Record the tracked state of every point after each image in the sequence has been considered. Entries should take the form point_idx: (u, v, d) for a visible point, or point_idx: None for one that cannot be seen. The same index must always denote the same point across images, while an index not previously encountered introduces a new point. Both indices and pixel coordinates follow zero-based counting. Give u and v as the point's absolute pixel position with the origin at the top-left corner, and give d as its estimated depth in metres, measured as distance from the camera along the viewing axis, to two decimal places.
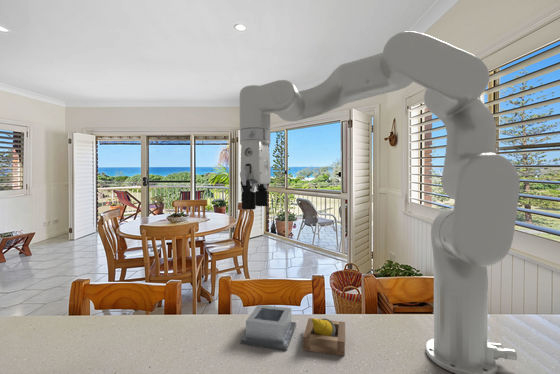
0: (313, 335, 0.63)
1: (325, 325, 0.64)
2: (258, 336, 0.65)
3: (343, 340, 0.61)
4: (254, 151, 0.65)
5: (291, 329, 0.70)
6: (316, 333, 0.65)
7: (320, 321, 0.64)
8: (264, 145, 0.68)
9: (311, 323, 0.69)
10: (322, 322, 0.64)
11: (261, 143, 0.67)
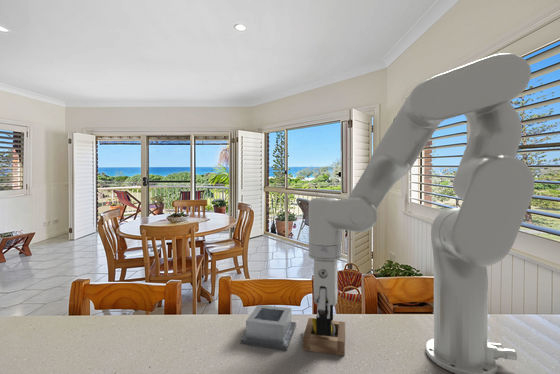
0: (313, 335, 0.63)
1: None
2: (258, 336, 0.65)
3: (343, 340, 0.61)
4: (329, 273, 0.61)
5: (291, 329, 0.70)
6: (316, 333, 0.65)
7: None
8: (336, 259, 0.65)
9: (311, 323, 0.69)
10: None
11: (335, 261, 0.63)
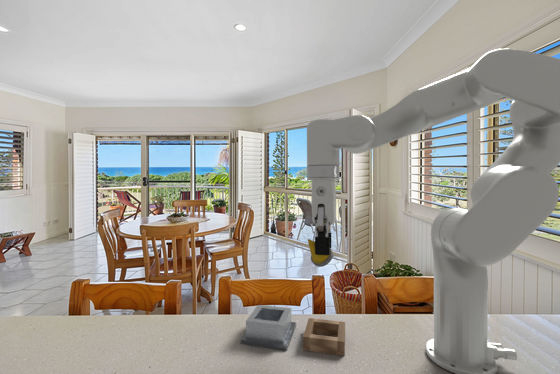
0: (313, 335, 0.63)
1: None
2: (258, 336, 0.65)
3: (343, 340, 0.61)
4: (327, 190, 0.61)
5: (291, 329, 0.70)
6: (313, 256, 0.65)
7: None
8: (334, 181, 0.65)
9: (311, 323, 0.69)
10: None
11: (333, 181, 0.63)
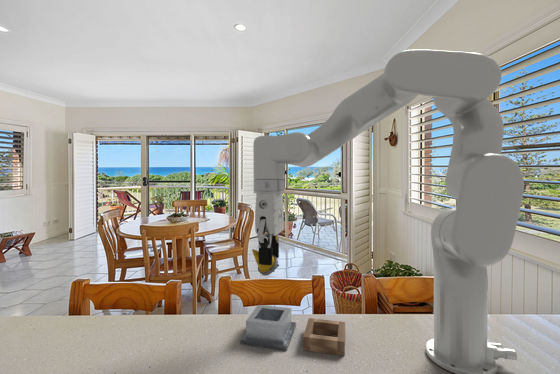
0: (313, 335, 0.63)
1: None
2: (258, 336, 0.65)
3: (343, 340, 0.61)
4: (269, 204, 0.64)
5: (291, 329, 0.70)
6: (258, 265, 0.68)
7: None
8: (278, 194, 0.68)
9: (311, 323, 0.69)
10: None
11: (276, 194, 0.66)
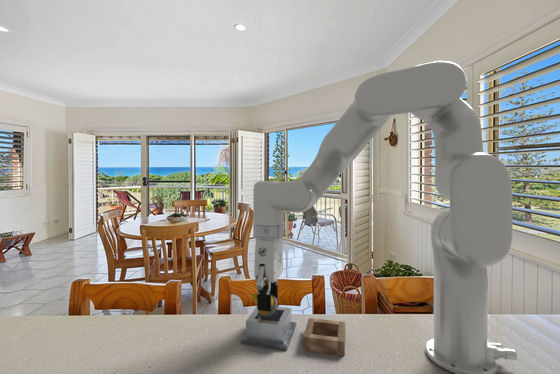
0: (313, 335, 0.63)
1: None
2: (258, 336, 0.65)
3: (343, 340, 0.61)
4: (268, 251, 0.64)
5: (291, 329, 0.70)
6: None
7: None
8: (278, 240, 0.68)
9: (311, 323, 0.69)
10: None
11: (275, 241, 0.66)
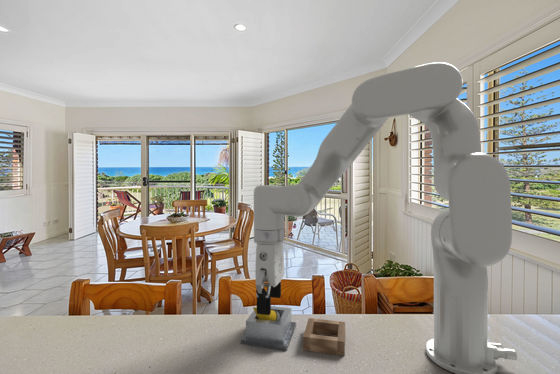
0: (313, 335, 0.63)
1: None
2: (258, 336, 0.65)
3: (343, 340, 0.61)
4: (269, 256, 0.64)
5: (291, 329, 0.70)
6: None
7: None
8: (279, 244, 0.68)
9: (311, 323, 0.69)
10: None
11: (276, 245, 0.66)
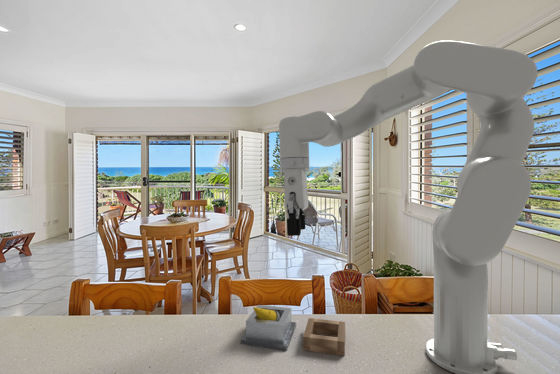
0: (313, 335, 0.63)
1: (268, 314, 0.68)
2: (258, 336, 0.65)
3: (343, 340, 0.61)
4: (298, 180, 0.68)
5: (291, 329, 0.70)
6: None
7: (262, 310, 0.68)
8: (304, 172, 0.72)
9: (311, 323, 0.69)
10: (265, 311, 0.68)
11: (303, 171, 0.70)
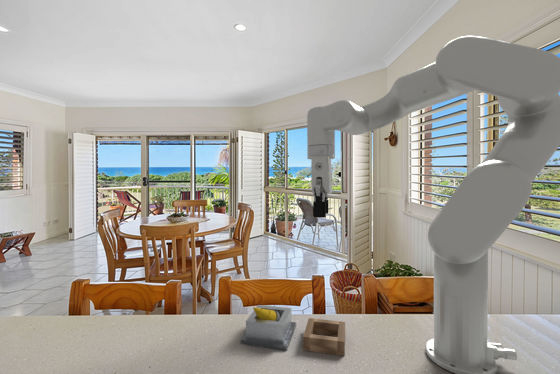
0: (313, 335, 0.63)
1: (268, 314, 0.68)
2: (258, 336, 0.65)
3: (343, 340, 0.61)
4: (324, 165, 0.73)
5: (291, 329, 0.70)
6: None
7: (262, 310, 0.68)
8: (330, 159, 0.77)
9: (311, 323, 0.69)
10: (265, 311, 0.68)
11: (329, 158, 0.75)
